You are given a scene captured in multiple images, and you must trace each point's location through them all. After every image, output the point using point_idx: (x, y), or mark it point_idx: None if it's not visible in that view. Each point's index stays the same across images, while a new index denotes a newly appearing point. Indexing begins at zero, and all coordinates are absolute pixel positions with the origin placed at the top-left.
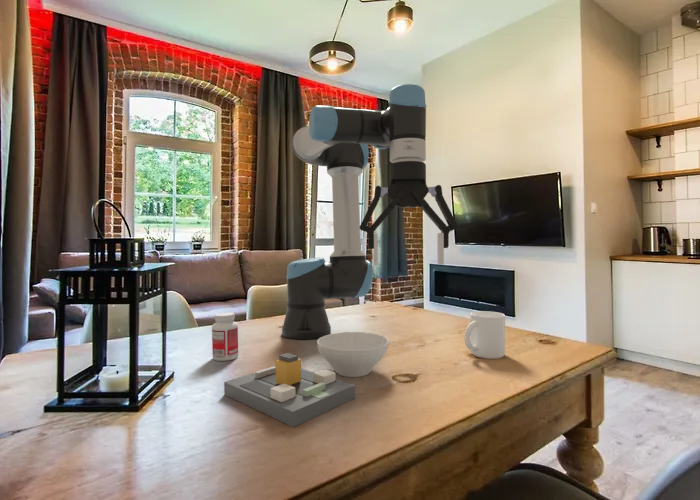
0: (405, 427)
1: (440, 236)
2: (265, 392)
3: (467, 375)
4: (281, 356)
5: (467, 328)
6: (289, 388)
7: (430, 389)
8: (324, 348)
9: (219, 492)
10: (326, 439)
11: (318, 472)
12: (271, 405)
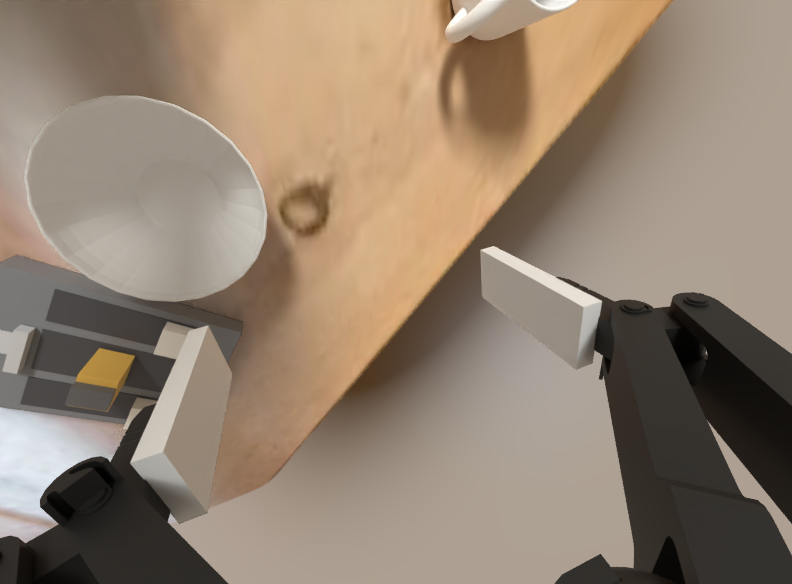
0: (333, 371)
1: (563, 356)
2: None
3: (419, 171)
4: (75, 406)
5: (470, 25)
6: None
7: (356, 255)
8: (115, 288)
9: None
10: (253, 422)
11: (271, 461)
12: None
